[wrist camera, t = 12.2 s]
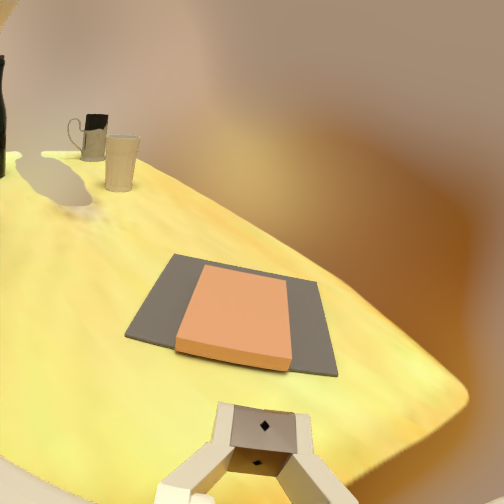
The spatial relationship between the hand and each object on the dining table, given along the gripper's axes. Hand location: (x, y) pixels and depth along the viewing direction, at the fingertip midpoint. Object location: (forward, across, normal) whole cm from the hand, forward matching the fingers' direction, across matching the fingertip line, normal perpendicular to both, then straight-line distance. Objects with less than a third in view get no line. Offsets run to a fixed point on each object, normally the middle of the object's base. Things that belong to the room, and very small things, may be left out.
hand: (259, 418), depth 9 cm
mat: (+23, 0, -12) cm, 26 cm away
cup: (+59, -32, -12) cm, 69 cm away
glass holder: (+86, -58, -12) cm, 104 cm away
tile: (+14, -1, -10) cm, 17 cm away
